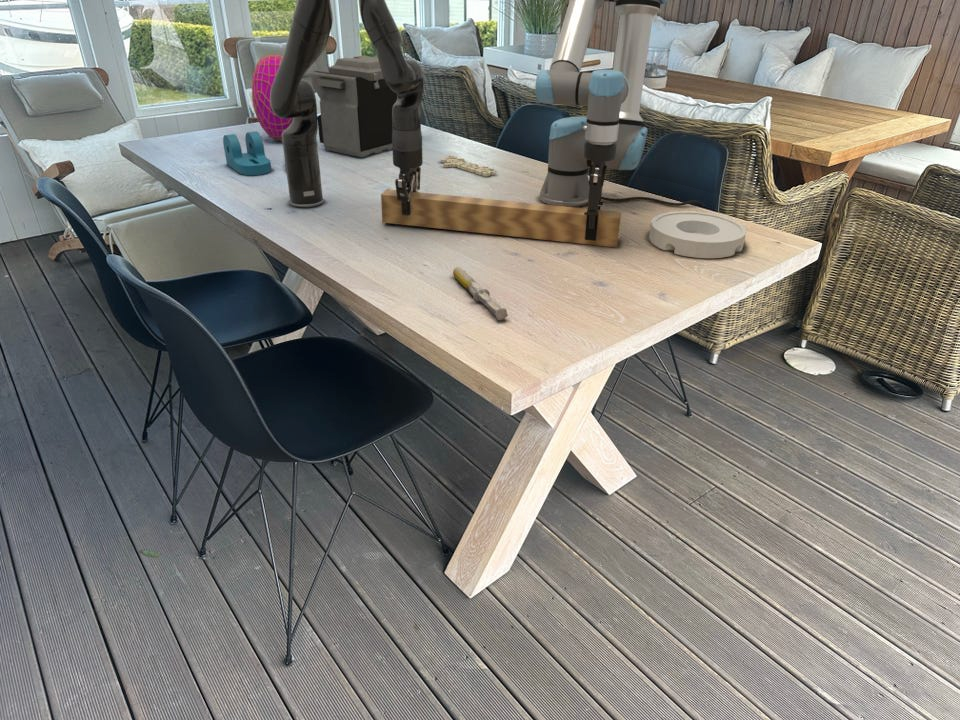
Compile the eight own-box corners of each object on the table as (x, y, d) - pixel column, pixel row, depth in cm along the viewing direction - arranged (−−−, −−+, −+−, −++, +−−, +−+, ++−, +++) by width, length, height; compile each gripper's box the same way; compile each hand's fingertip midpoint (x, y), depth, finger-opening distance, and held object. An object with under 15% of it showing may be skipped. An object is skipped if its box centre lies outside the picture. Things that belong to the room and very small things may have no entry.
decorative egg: (293, 132, 276) (283, 50, 261) (319, 140, 264) (310, 56, 249) (249, 139, 265) (236, 54, 250) (273, 148, 253) (261, 60, 238)
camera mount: (227, 164, 233) (221, 132, 227) (257, 160, 238) (252, 129, 233) (244, 176, 220) (239, 143, 215) (276, 172, 225) (271, 139, 220)
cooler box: (383, 133, 276) (378, 52, 261) (425, 141, 265) (422, 56, 250) (314, 150, 251) (304, 61, 235) (358, 160, 240) (350, 67, 224)
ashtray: (641, 224, 185) (643, 210, 183) (728, 226, 184) (731, 212, 182) (658, 257, 165) (660, 241, 163) (755, 259, 164) (759, 243, 162)
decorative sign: (429, 159, 238) (452, 154, 244) (429, 162, 238) (452, 157, 244) (480, 175, 221) (502, 170, 227) (480, 178, 221) (502, 173, 227)
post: (617, 240, 175) (621, 212, 171) (616, 247, 171) (620, 218, 167) (388, 216, 186) (387, 189, 182) (382, 222, 182) (380, 194, 178)
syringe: (449, 274, 155) (449, 263, 153) (465, 272, 156) (464, 260, 154) (490, 323, 135) (491, 310, 133) (508, 319, 136) (508, 307, 134)
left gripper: (402, 138, 179) (404, 202, 188) (383, 151, 167) (386, 219, 176) (429, 140, 178) (431, 204, 187) (412, 154, 166) (414, 221, 175)
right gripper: (588, 131, 170) (580, 221, 182) (580, 149, 154) (572, 247, 166) (619, 133, 169) (609, 224, 180) (614, 152, 153) (603, 250, 164)
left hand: (409, 211), depth 181 cm, fingers closed on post, 5 cm apart
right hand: (591, 235), depth 173 cm, fingers open, 6 cm apart
